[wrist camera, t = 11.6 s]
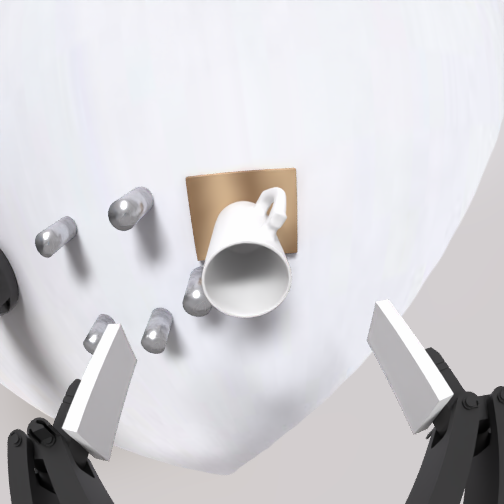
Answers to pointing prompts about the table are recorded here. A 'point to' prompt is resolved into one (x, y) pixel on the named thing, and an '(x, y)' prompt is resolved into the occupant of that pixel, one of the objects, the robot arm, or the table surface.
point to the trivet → (234, 190)
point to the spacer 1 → (55, 236)
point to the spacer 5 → (196, 295)
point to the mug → (248, 258)
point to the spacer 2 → (97, 332)
